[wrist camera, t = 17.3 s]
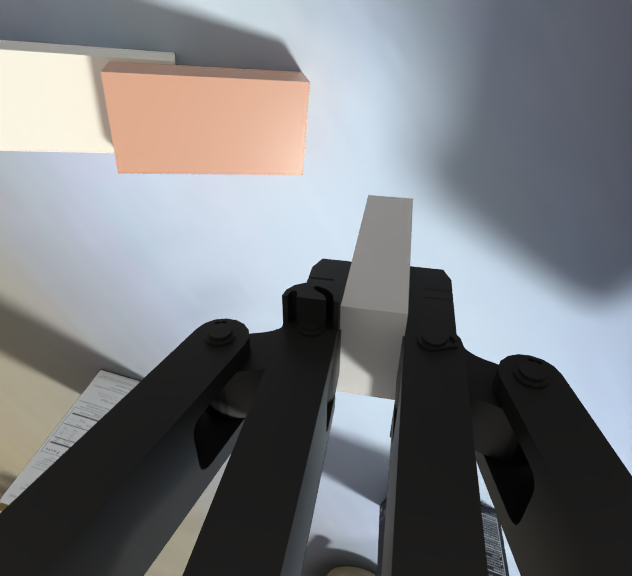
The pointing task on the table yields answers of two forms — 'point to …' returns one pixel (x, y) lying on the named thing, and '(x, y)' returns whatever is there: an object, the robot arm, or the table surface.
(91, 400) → the syrup box
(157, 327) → the table surface
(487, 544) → the small box
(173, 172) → the domino
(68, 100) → the domino
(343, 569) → the tableware set
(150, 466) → the robot arm
